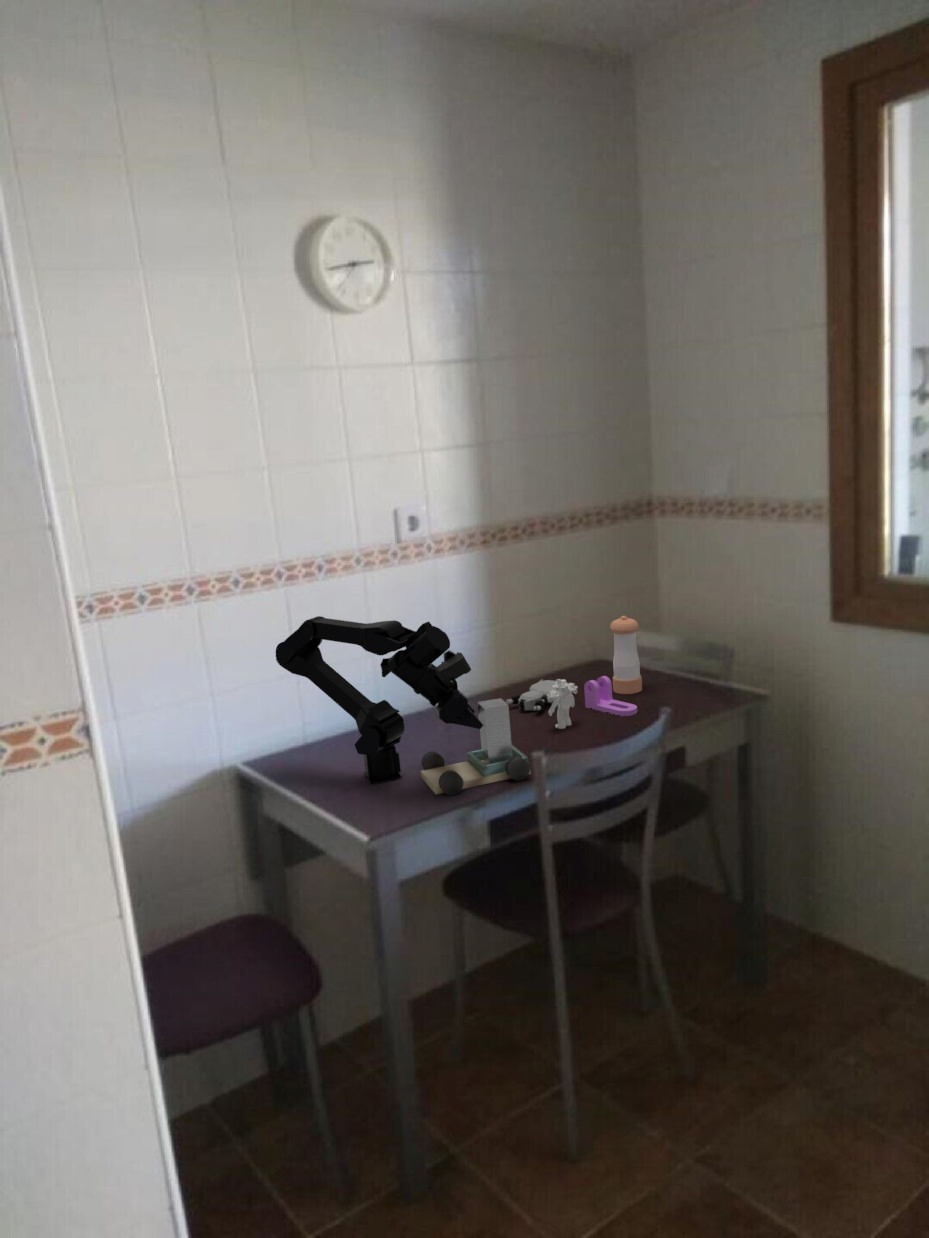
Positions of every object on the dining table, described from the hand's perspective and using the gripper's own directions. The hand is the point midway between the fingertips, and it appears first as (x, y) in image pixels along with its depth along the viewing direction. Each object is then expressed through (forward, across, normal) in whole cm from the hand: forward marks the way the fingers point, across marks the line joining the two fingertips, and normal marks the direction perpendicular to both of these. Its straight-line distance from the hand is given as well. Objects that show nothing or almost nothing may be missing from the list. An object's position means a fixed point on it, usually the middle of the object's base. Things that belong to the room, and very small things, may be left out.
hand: (477, 720), depth 192 cm
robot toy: (+24, +38, -8) cm, 46 cm away
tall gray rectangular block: (+9, 0, +5) cm, 10 cm away
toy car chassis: (+7, -1, +9) cm, 11 cm away
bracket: (+35, +28, -18) cm, 48 cm away
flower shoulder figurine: (+25, +21, -8) cm, 33 cm away
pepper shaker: (+40, +41, -24) cm, 62 cm away
